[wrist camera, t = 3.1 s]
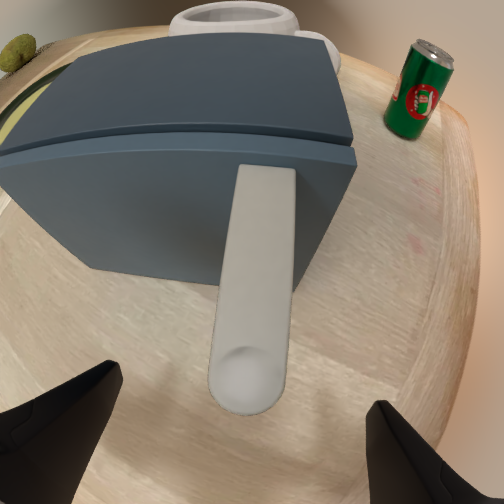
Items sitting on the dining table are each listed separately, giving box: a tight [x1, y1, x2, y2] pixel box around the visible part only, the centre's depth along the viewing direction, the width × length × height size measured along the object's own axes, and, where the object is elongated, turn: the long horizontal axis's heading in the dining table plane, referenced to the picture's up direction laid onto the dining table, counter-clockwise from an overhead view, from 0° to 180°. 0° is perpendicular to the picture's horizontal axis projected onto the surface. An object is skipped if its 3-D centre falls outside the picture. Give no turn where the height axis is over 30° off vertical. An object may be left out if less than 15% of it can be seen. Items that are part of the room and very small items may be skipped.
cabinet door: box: [0, 132, 357, 416], centre depth 12 cm, size 7×16×12 cm, turn 84°
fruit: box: [0, 34, 36, 73], centre depth 43 cm, size 16×14×15 cm
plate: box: [0, 62, 73, 145], centre depth 29 cm, size 28×28×2 cm
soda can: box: [384, 39, 454, 139], centre depth 21 cm, size 5×5×12 cm
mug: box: [168, 1, 341, 76], centre depth 25 cm, size 21×17×10 cm
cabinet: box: [0, 32, 353, 157], centre depth 15 cm, size 9×16×13 cm, turn 84°
